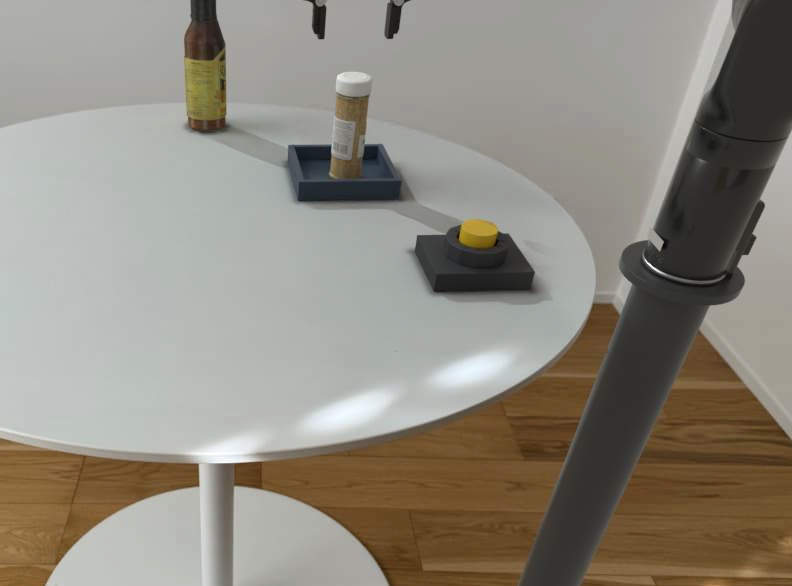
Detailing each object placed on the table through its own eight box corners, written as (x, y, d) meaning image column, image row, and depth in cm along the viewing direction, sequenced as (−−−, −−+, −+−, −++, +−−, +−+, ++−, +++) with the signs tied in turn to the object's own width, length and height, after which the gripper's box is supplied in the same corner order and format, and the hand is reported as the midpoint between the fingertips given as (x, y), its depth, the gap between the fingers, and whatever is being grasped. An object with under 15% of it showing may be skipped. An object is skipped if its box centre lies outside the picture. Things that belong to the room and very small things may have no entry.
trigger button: (488, 232, 90) (491, 218, 88) (499, 249, 87) (503, 235, 85) (454, 233, 89) (457, 219, 88) (464, 250, 86) (467, 236, 85)
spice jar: (368, 179, 107) (380, 78, 99) (341, 186, 105) (351, 83, 97) (347, 167, 110) (358, 68, 102) (321, 174, 108) (329, 73, 100)
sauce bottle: (230, 131, 122) (230, -10, 109) (190, 134, 120) (185, -9, 108) (221, 117, 126) (220, -21, 114) (183, 119, 125) (178, -19, 113)
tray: (380, 161, 114) (382, 143, 112) (399, 199, 104) (401, 180, 103) (287, 162, 113) (288, 144, 111) (297, 200, 103) (298, 182, 102)
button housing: (504, 249, 94) (512, 219, 91) (530, 289, 87) (539, 257, 85) (414, 251, 93) (419, 220, 91) (433, 291, 86) (439, 259, 84)
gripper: (308, -115, 83) (301, 47, 94) (440, -115, 84) (418, 46, 94) (300, -124, 89) (294, 30, 99) (423, -123, 90) (404, 29, 100)
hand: (354, 37), depth 97 cm, fingers open, 8 cm apart
